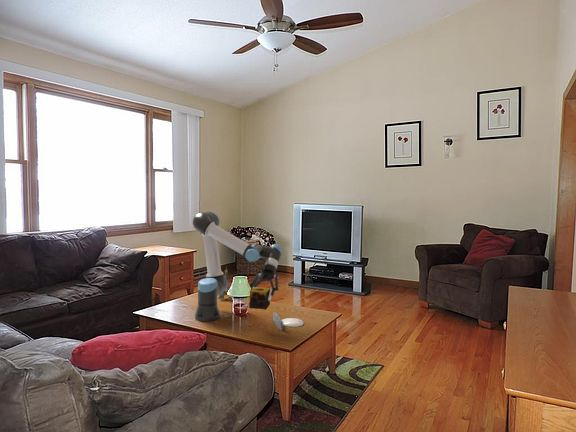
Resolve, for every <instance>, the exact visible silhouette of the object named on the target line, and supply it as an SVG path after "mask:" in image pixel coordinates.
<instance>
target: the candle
mask: <svg viewBox="0 0 576 432" xmlns="http://www.w3.org/2000/svg"><path fill="white" fill-rule="evenodd" d="M270 290H271V288H270V287H260V286H257V287H254V288H253V289H252V290H251V289H250V290H249V303H248V305H249V306H248V307H249V309H255V310H267V309H268V308H269V307H270V305H271V300H270V301H268V296H269V293H270Z"/></svg>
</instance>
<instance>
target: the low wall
mask: <svg viewBox="0 0 576 432" xmlns="http://www.w3.org/2000/svg"><path fill="white" fill-rule="evenodd" d="M272 314H273V315H272V316H273V317H272V318H273V322H274V323H275V325H276V326H277V327H278V329H279V331H284V329H283V328H284V326H283V321H282V320H283V319H281V318H280V316H279V315H278V313H277V312H276V311H274V312H273V313H272Z"/></svg>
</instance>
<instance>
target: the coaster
mask: <svg viewBox="0 0 576 432" xmlns="http://www.w3.org/2000/svg"><path fill="white" fill-rule="evenodd" d="M281 320H282V321H283V327H288V328H297V327H302V326H303V325H304V323H305V322H304V320H302V319H300V318H297V317H296V318H295V317H287V318H284V319H281Z"/></svg>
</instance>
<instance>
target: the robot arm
mask: <svg viewBox="0 0 576 432" xmlns="http://www.w3.org/2000/svg"><path fill="white" fill-rule="evenodd" d="M219 217H220V216H219V215H218V214H217V213H215V212H213V211H205V212H199V213H196V214H195V215H194V217H193V219H192V226H193V228H194V230H195V231H197V232H199V234H200V235H201V236H202V237H203V239H202V240H203V246H204V254H205V255H204V256H205V260H206V261H205V262H206V270H207V273H206V275H205V278H202V279H200V280H199V281H198V283H197V308H196V311H195V314H194V319H195V320H196V321H199V322H213V321H217V320H219V319H220V318H221V312H220V310H219V309H220V308H219V307H218V297H219V295H220V294H222V293H223V292H224V291H227V285H229V282H228V283H227V279H226V278H225V272H223V271H222V268H221V260H220V252H219V245H218V242H219V243H221V244H222V245H224V246H226V247H227V248H230V249H231V250H233V251H235V252H236V253H238V254H240V255H242V256H243V257H245V259H246V260H247V261H248V262H250V263H253V262H257V261H258V260H260V259H261V258H262V259H265V260H266V261H265V262H264V266H263V269H262V272H261V273H259V272H258V271H257V272H256V274H255V276H254V278H253V279H252V280H251V282H250V283H249V285H248V286H249V287H250V290H252V289H253V288H254V287H259V285H260V284H262V283H263V282H264V281H265V282H270V287H271V288H270V293H269V296H268V301H270V302H271V300H272V297H273V296H274V295H275V292H276V291H277V292H278V291H279V279H280V276H279V274H276V272H277V269H278V265H279V262H280V258H281V256H282V253H283V247H282V246H281V245H280V244H278V243H277V244H276V243H274V244H272V245H271V246H265V245H261V244H255V243H252V244H249V243H247V242H246V241H244V240H242V239H240V238H239V237H237V236H235V235H233V234H232V233H231V232H229V231H227V230H225V229H223V228H222V227H220V226H219V225H220V218H219ZM273 279H274V282H273ZM274 283H275V284H274Z"/></svg>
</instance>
